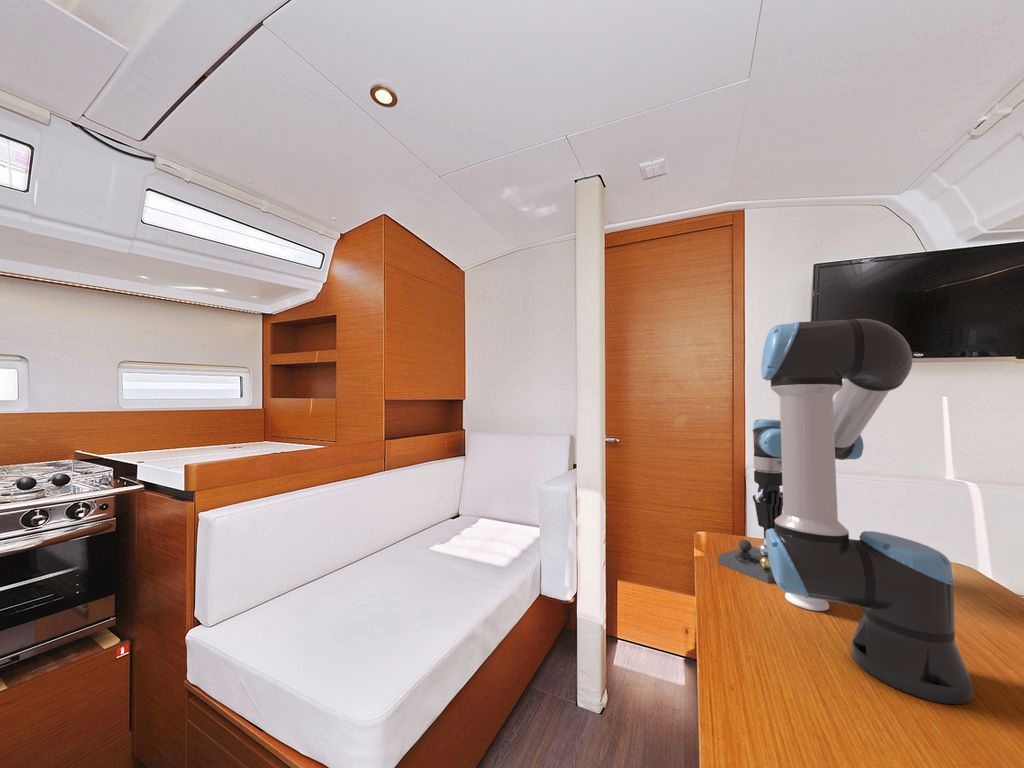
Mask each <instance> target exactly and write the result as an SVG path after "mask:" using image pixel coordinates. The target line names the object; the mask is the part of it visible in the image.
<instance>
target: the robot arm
mask: <svg viewBox="0 0 1024 768" xmlns="http://www.w3.org/2000/svg"><path fill="white" fill-rule="evenodd" d="M763 345H764V346H763V350H762V355H761V364H760V369H761V370H760V371H761V378H762V379H763V380H765V381H770V389H771V390H772V391H773V392H774V393H775V394H777V396H778V397H779V411H780V412H779V414H780V416H779V417H780V418H779V419H780V420H779V419H761V418H759V419H755V420H753V425H752V426H753V427H752V433H753V435H752V436H753V469H754V471H753V481H754V483H756V484H757V485H758V488H757V494H756V495H755V494H753V496H752V500H753V502H754V506H755V511H756V517H757V524H758V526H759V527H761V528H763V544H766V546H767V552H768V557H769V561H770V565H771V569H772V573H773V576H774V579H775V581H774V582H776V584H777V587H779V589H781V590H782V591H783V592H785V593H786V592H787V593H791V594H796V595H800V596H804V597H805V598H815V599H821V600H826V601H827V602H834V603H839V604H844V605H851V606H856V607H857V606H858V607H862V616H861V619H860V621H859V623H858V626H857V627H856V630H855V631H854V633H853V637H852V638H851V656H852V657H853V659H854V661H855V662H856V663H857V665H858V666H859V667H861V668H862V669H863V670H865V672H867V673H868V674H869V675H871V676H873V677H874V678H876V679H877V680H879V681H881V682H883V683H884V684H886V685H889V686H890V687H893V688H895V689H896V690H900V691H901V692H903V693H906V694H909V695H913V696H915V697H918V698H920V699H924V700H927V701H932V702H936V703H942V704H948V705H963V704H967V703H970V702H971V701H972V700H973V698H974V691H973V690H974V689H973V688H974V687H973V679H972V678H971V675H970V673H969V671H968V668H967V667H966V664H965V662H964V660H963V657H962V655H961V653H960V651H959V649H958V646H957V643H956V633H955V632H956V631H955V630H956V629H955V627H956V626H955V596H954V595H955V593H954V591H955V590H954V586H955V583H956V582H955V581H954V575H953V569H952V568H953V567H952V563H951V561H950V560H949V558H948V557H947V556H946V555H945V554H943V553H942V552H940V551H939V550H938V549H935V548H933V547H930V546H928V545H926V544H923V543H921V542H917V541H915V540H911V539H909V538H906V537H901V536H897V535H893V534H889V533H886V532H878V531H872V530H871V531H865V530H864V531H862V532H861V533H860V535H859V539H852V538H850V533H849V530H848V529H847V528H846V527H845V525H843V524H842V523H841V522H840V521H839V518H838V517H839V516H838V515H839V514H838V497H837V495H838V494H837V493H838V491H837V490H838V489H837V471H836V460H839V461H840V460H841V461H845V460H859V459H860V458H861V457H862V455H863V451H864V440H863V437H862V435H861V434H862V432H863V431H864V429H865V427H867V425H868V424H869V422H870V421H871V419H872V418H873V416H874V414H875V413H876V411H877V410H878V408H879V407H880V406H881V404H882V402H883V401H884V400H885V398H886V397H887V395H888V393H890V391H894V390H896V389H898V388H900V386H902V385H903V383H904V382H905V380H906V379H907V378H908V376H909V374H910V373H911V370H912V366H913V353H912V350H911V347H910V344H909V343H908V340H906V338H905V337H904V336H903V335H902V333H900V332H899V331H898V330H896V329H895V328H894V327H892V325H891V326H890V325H889V324H887V323H884V322H882V321H879V320H875V319H869V318H852V319H840V320H839V319H838V320H819V321H815V320H814V321H796V322H791V323H785V324H784V323H783V324H781V323H780V324H777V325H774V326H772V328H771V329H770V330H769V331H768V333H767V335H766V337H765V341H764V344H763ZM834 395H835V397H834ZM833 397H834V398H833ZM781 486H782V491H781Z"/></svg>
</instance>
